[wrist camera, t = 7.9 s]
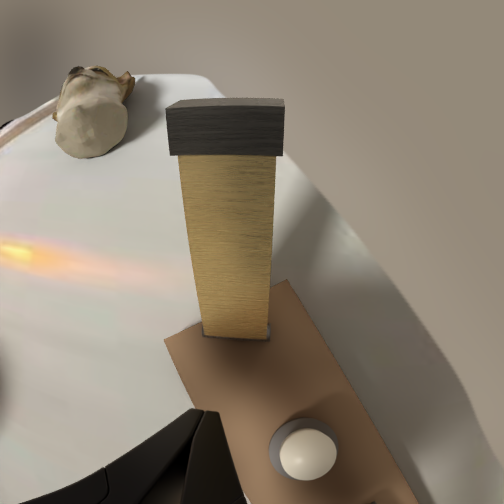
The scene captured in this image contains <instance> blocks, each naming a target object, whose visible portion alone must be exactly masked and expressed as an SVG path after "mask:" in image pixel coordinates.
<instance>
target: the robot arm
mask: <svg viewBox="0 0 504 504" xmlns="http://www.w3.org/2000/svg"><path fill="white" fill-rule="evenodd" d="M20 504H247V501H246V498H245V497H244V493H243V490H242V487H241V484H240V481H239V478H238V475H237V472H236V468H235V465H234V462H233V459H232V455H231V452H230V449H229V445H228V442H227V438H226V435H225V431H224V428H223V424H222V421H221V417H220V413H219V412H217V411H209V410H206V411H204V410H201V409H193V408H191V409H189V410H188V411H186V412H185V413H184V414H182V415H181V416H179V417H178V418H177V419H175V420H174V421H173V422H171V423H170V424H168V425H167V426H166V427H164V428H163V429H161V430H160V431H158V432H157V433H156V434H154V435H153V436H151V437H150V438H148V439H147V440H145V441H144V442H142V443H141V444H139V445H138V446H136V447H135V448H133V449H132V450H130V451H129V452H127V453H126V454H124V455H123V456H121V457H119V458H118V459H116V460H115V461H113V462H111V463H110V464H108V465H107V466H105V468H104V467H103V468H101V469H99V470H98V471H96V472H94V473H93V474H91V475H89V476H87V477H85V478H83V479H81V480H80V481H78V482H75V483H73V484H71V485H69V486H66V487H64V488H62V489H59V490H57V491H54V492H52V493H49V494H46V495H43V496H41V497H38V498H35V499H32V500H29V501H26V502H23V503H20Z"/></svg>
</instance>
